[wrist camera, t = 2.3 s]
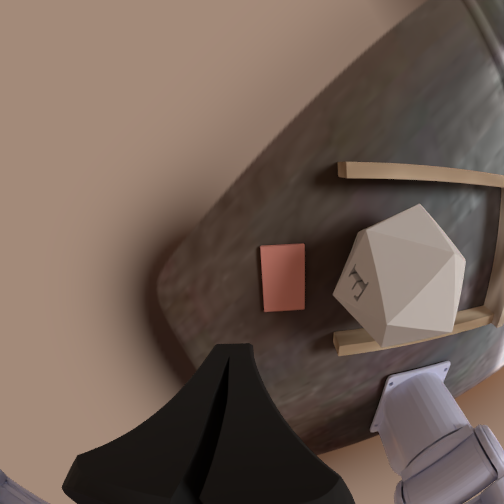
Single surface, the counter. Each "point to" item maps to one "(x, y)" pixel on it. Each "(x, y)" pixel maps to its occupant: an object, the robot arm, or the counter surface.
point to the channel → (500, 285)
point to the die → (403, 279)
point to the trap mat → (283, 277)
